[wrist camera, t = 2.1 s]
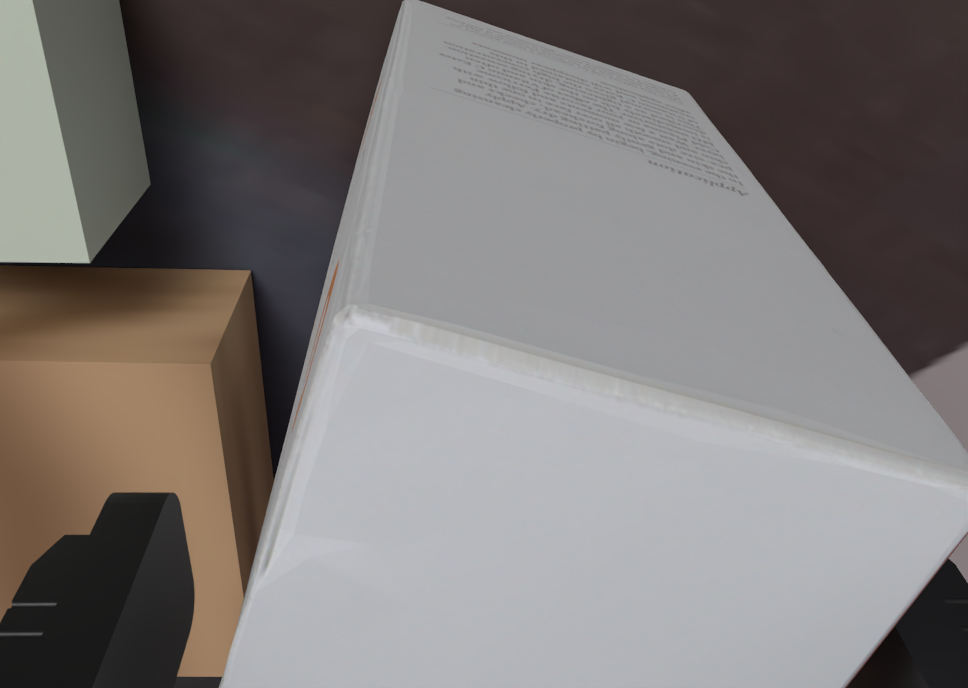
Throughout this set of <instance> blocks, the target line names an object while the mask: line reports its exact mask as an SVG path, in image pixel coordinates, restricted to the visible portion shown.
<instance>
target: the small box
mask: <svg viewBox="0 0 968 688" xmlns="http://www.w3.org/2000/svg"><path fill="white" fill-rule="evenodd" d="M967 534H968V452H967V451H966V449H965V448H964V447H963V445H962V444H961V443H960V442H959V440H958V439H957V438H956V436H955V435H954V434H953V432H952V431H951V430H950V429H949V427H948V426H947V425H946V424H945V422H944V421H943V420H942V419H941V417H940V416H939V415H938V414H937V412H936V411H935V410H934V408H933V407H932V406H931V404H930V403H929V402H928V401H927V399H926V398H925V397H924V396H923V394H922V393H921V392H920V391H919V389H918V388H917V387H916V385H915V384H914V383H913V381H912V380H911V379H910V377H909V376H908V375H907V374H906V372H905V371H904V370H903V368H902V367H901V366H900V364H899V363H898V362H897V361H896V359H895V358H894V357H893V355H892V354H891V353H890V351H889V350H888V349H887V348H886V346H885V345H884V344H883V342H882V341H881V340H880V338H879V337H878V336H877V335H876V333H875V332H874V331H873V329H872V328H871V327H870V326H869V324H868V323H867V322H866V320H865V319H864V318H863V316H862V315H861V314H860V313H859V311H858V310H857V309H856V308H855V306H854V305H853V304H852V302H851V301H850V300H849V299H848V297H847V296H846V295H845V293H844V292H843V291H842V290H841V288H840V287H839V286H838V285H837V283H836V282H835V281H834V280H833V278H832V277H831V276H830V275H829V273H828V272H827V270H826V269H825V267H824V266H823V265H822V263H821V262H820V261H819V260H818V259H817V257H816V256H815V255H814V254H813V252H812V251H811V250H810V249H809V247H808V246H807V245H806V243H805V242H804V241H803V240H802V238H801V237H800V236H799V234H798V233H797V232H796V231H795V229H794V228H793V227H792V225H791V224H790V223H789V222H788V220H787V219H786V218H785V216H784V215H783V214H782V213H781V211H780V210H779V208H778V207H777V206H776V204H775V203H774V202H773V200H772V199H771V198H770V197H769V195H768V194H767V193H766V191H765V190H764V189H763V187H762V186H761V185H760V183H759V182H758V181H757V180H756V178H755V177H754V176H753V175H752V173H751V172H750V170H749V169H748V168H747V166H746V165H745V164H744V163H743V161H742V160H741V159H740V158H739V156H738V155H737V154H736V152H735V151H734V150H733V149H732V147H731V146H730V145H729V144H728V143H727V142H726V140H725V139H724V138H723V136H722V135H721V134H720V132H719V131H718V130H717V129H716V127H715V126H714V125H713V124H712V122H711V121H710V120H709V119H708V117H707V116H706V115H705V113H704V112H703V111H702V109H701V108H700V107H699V105H698V104H697V103H696V101H695V100H694V99H693V98H692V96H691V95H690V94H689V93H688V92H686V91H684V90H682V89H679V88H676V87H673V86H670V85H667V84H664V83H661V82H658V81H655V80H652V79H649V78H646V77H643V76H640V75H637V74H634V73H631V72H628V71H625V70H622V69H619V68H616V67H613V66H610V65H607V64H605V63H602V62H599V61H596V60H593V59H590V58H587V57H584V56H581V55H578V54H575V53H572V52H569V51H566V50H563V49H560V48H557V47H554V46H551V45H548V44H545V43H542V42H539V41H536V40H533V39H530V38H527V37H525V36H522V35H519V34H516V33H513V32H510V31H507V30H504V29H501V28H498V27H495V26H493V25H490V24H487V23H484V22H481V21H478V20H475V19H472V18H469V17H466V16H463V15H460V14H457V13H454V12H451V11H449V10H446V9H443V8H440V7H437V6H434V5H431V4H428V3H425V2H422V1H419V0H405V1H403V3H402V5H401V8H400V11H399V14H398V17H397V21H396V24H395V27H394V31H393V34H392V37H391V41H390V44H389V47H388V51H387V54H386V57H385V61H384V64H383V68H382V71H381V75H380V79H379V82H378V86H377V89H376V93H375V96H374V100H373V104H372V107H371V111H370V114H369V118H368V122H367V125H366V129H365V132H364V136H363V139H362V143H361V147H360V150H359V154H358V158H357V162H356V165H355V169H354V173H353V177H352V180H351V184H350V188H349V192H348V195H347V199H346V203H345V207H344V210H343V214H342V218H341V222H340V225H339V229H338V233H337V237H336V240H335V244H334V248H333V252H332V256H331V260H330V264H329V268H328V272H327V276H326V280H325V284H324V287H323V291H322V295H321V299H320V303H319V307H318V311H317V315H316V319H315V323H314V327H313V331H312V335H311V339H310V343H309V347H308V351H307V354H306V358H305V362H304V366H303V370H302V374H301V378H300V382H299V386H298V390H297V394H296V398H295V402H294V406H293V410H292V413H291V417H290V421H289V425H288V429H287V433H286V437H285V441H284V445H283V449H282V453H281V457H280V460H279V464H278V468H277V472H276V476H275V480H274V484H273V488H272V492H271V495H270V499H269V503H268V507H267V511H266V515H265V519H264V523H263V526H262V530H261V534H260V538H259V542H258V546H257V550H256V554H255V558H254V561H253V565H252V569H251V573H250V577H249V581H248V585H247V589H246V592H245V596H244V600H243V604H242V608H241V612H240V616H239V620H238V624H237V627H236V631H235V635H234V638H233V642H232V645H231V648H230V652H229V655H228V659H227V662H226V666H225V670H224V673H223V676H222V680H221V683H220V686H219V688H846V687H847V686H848V684H849V683H850V682H851V681H852V679H853V678H854V677H855V676H856V675H857V673H858V672H859V671H860V670H861V668H862V667H863V666H864V665H865V663H866V662H867V661H868V659H869V658H870V657H871V656H872V654H873V653H874V652H875V651H876V649H877V648H878V647H879V645H880V644H881V643H882V642H883V640H884V639H885V638H886V637H887V635H888V634H889V633H890V632H891V630H892V629H893V628H894V626H895V625H896V624H897V623H898V621H899V620H900V619H901V618H902V616H903V615H904V614H905V612H906V611H907V610H908V609H909V607H910V606H911V605H912V604H913V602H914V601H915V600H916V598H917V597H918V596H919V595H920V593H921V592H922V591H923V590H924V588H925V587H926V586H927V584H928V583H929V582H930V581H931V579H932V578H933V577H934V576H935V574H936V573H937V572H938V570H939V569H940V568H941V567H942V565H943V564H944V563H945V562H946V560H947V559H948V558H949V557H950V555H951V554H952V553H953V552H954V550H955V549H956V548H957V546H958V545H959V544H960V543H961V541H962V540H963V539H964V538H965V537H966V535H967Z"/></svg>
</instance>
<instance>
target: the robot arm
mask: <svg viewBox="0 0 968 688" xmlns="http://www.w3.org/2000/svg"><path fill="white" fill-rule="evenodd" d="M194 601H195V589H194V579H193V573H192V567H191V562H190V556H189V550H188V545H187V539H186V533H185V528H184V522H183V516H182V511H181V505H180V501H179V498H178V496H177V495H176V494H175V493H173V492H115V493H112V494H110V495H109V497H108V498H107V500H106V501H105V503H104V505H103V508H102V510H101V512H100V514H99V516H98V518H97V520H96V522H95V524H94V526H93V529H92V531H91V533H90V535H64V536H63V537H61V538H60V539H59V540H58V541H57V542H56V543H55V544H54V545H53V546H52V547H50V548H49V549H48V550H47V551H46V552H45V553H44V554H43V555H42V556H41V557H39V558H38V559H37V560H36V561H35V562H34V563H33V564H32V565H31V566H30V568H29V569H28V571H27V573H26V575H25V577H24V579H23V581H22V583H21V584H20V586H19V588H18V590H17V592H16V594H15V596H14V598H13V600H12V606H11V608H8V609H7V611H6V613H5V615H4V616H3V618H2V620H1V622H0V688H174V684H175V681H176V678H177V674H178V671H179V668H180V664H181V661H182V658H183V654H184V651H185V648H186V644H187V641H188V638H189V634H190V631H191V626H192V621H193V614H194ZM846 688H968V583H967V582H966V580H965V579H964V577H963V576H962V574H961V573H960V571H959V570H958V568H957V567H956V565H955V564H954V563H953V562H952V561H950V560H949V559H947V560H946V562H945V563H944V564H943V565H942V567H941V568H940V569H939V570H938V572H937V573H936V574H935V576H934V577H933V578H932V579H931V581H930V582H929V583H928V584H927V586H926V587H925V588H924V590H923V591H922V592H921V593H920V595H919V596H918V597H917V598H916V600H915V601H914V602H913V604H912V605H911V606H910V607H909V609H908V610H907V611H906V612H905V614H904V615H903V616H902V618H901V619H900V620H899V621H898V623H897V624H896V625H895V626H894V628H893V629H892V630H891V632H890V633H889V634H888V635H887V637H886V638H885V639H884V640H883V642H882V643H881V644H880V645H879V647H878V648H877V649H876V651H875V652H874V653H873V654H872V656H871V657H870V658H869V659H868V661H867V662H866V663H865V665H864V666H863V667H862V668H861V670H860V671H859V672H858V673H857V675H856V676H855V677H854V678H853V679H852V681H851V682H850V683H849V684H848V686H847V687H846Z"/></svg>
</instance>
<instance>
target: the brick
mask: <svg viewBox="0 0 968 688" xmlns="http://www.w3.org/2000/svg"><path fill="white" fill-rule="evenodd" d="M150 185H151V183H150V177H149V171H148V166H147V160H146V154H145V148H144V142H143V137H142V131H141V125H140V119H139V113H138V108H137V102H136V96H135V90H134V84H133V79H132V73H131V67H130V61H129V55H128V50H127V44H126V38H125V32H124V26H123V21H122V15H121V9H120V3H119V0H0V262H38V263H90V262H91V261H92V260H93V258H94V257H95V256H96V255H97V253H98V252H99V251H100V249H101V248H102V247H103V245H104V244H105V243H106V242H107V240H108V239H109V238H110V236H111V235H112V234H113V233H114V231H115V230H116V229H117V227H118V226H119V225H120V223H121V222H122V221H123V220H124V218H125V217H126V216H127V214H128V213H129V212H130V210H131V209H132V208H133V207H134V205H135V204H136V203H137V201H138V200H139V199H140V198H141V196H142V195H143V194H144V192H145V191H146V190H147V188H148V187H149V186H150Z"/></svg>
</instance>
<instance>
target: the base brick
mask: <svg viewBox="0 0 968 688" xmlns="http://www.w3.org/2000/svg"><path fill="white" fill-rule="evenodd" d="M273 484H274V478H273V469H272V460H271V451H270V442H269V432H268V423H267V414H266V405H265V396H264V386H263V377H262V368H261V359H260V350H259V340H258V331H257V322H256V313H255V304H254V295H253V285H252V276H251V270H208V269H158V268H108V267H58V266H9V265H0V622H1V620H2V618H3V616H4V615H5V613H6V611H7V609H8V608H11V606H12V600H13V598H14V596H15V594H16V592H17V590H18V588H19V586H20V584H21V583H22V581H23V579H24V577H25V575H26V573H27V571H28V569H29V568H30V566H31V565H32V564H33V563H34V562H35V561H36V560H37V559H38V558H39V557H41V556H42V555H43V554H44V553H45V552H46V551H47V550H48V549H49V548H50V547H52V546H53V545H54V544H55V543H56V542H57V541H58V540H59V539H60V538H61V537H63V536H64V535H90V533H91V531H92V529H93V526H94V524H95V522H96V520H97V518H98V516H99V514H100V512H101V510H102V508H103V505H104V503H105V501H106V500H107V498H108V497H109V495H110V494H112V493H115V492H173V493H175V494H176V495H177V496H178V498H179V501H180V505H181V511H182V516H183V522H184V528H185V533H186V539H187V545H188V550H189V556H190V562H191V567H192V573H193V579H194V589H195V601H194V614H193V621H192V626H191V631H190V634H189V638H188V641H187V644H186V648H185V651H184V654H183V658H182V661H181V664H180V668H179V671H178V674H177V676H182V677H222V676H223V673H224V670H225V666H226V662H227V659H228V655H229V652H230V648H231V645H232V642H233V638H234V635H235V631H236V627H237V624H238V620H239V616H240V612H241V608H242V604H243V600H244V596H245V592H246V589H247V585H248V581H249V577H250V573H251V569H252V565H253V561H254V558H255V554H256V550H257V546H258V542H259V538H260V534H261V530H262V526H263V523H264V519H265V515H266V511H267V507H268V503H269V499H270V495H271V492H272V488H273Z"/></svg>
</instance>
